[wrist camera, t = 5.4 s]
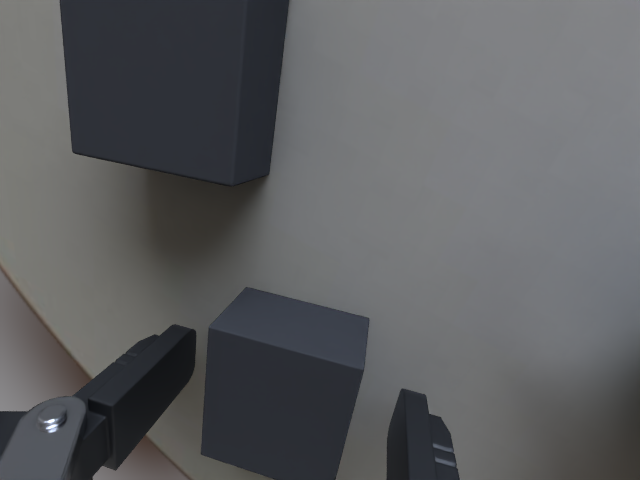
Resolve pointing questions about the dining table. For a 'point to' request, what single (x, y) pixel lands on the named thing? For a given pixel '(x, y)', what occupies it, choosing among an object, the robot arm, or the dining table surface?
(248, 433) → the pad
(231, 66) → the pad
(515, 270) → the dining table surface
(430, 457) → the robot arm
